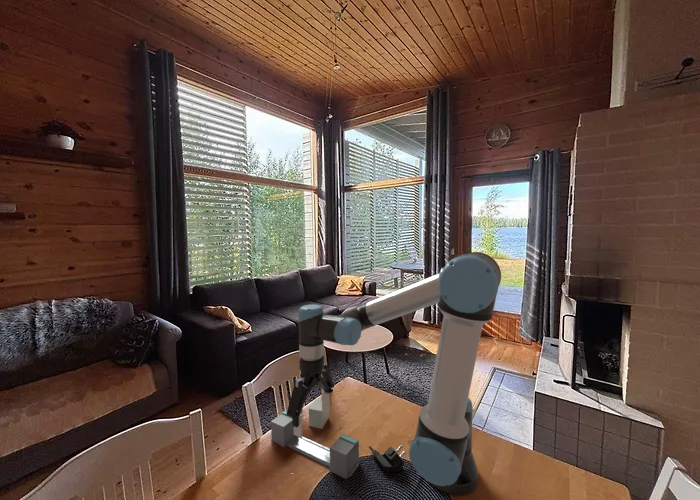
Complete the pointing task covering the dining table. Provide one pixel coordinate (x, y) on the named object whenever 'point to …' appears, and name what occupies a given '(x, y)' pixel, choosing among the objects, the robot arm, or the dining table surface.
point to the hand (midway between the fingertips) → (312, 423)
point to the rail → (314, 451)
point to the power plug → (390, 459)
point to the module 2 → (317, 415)
